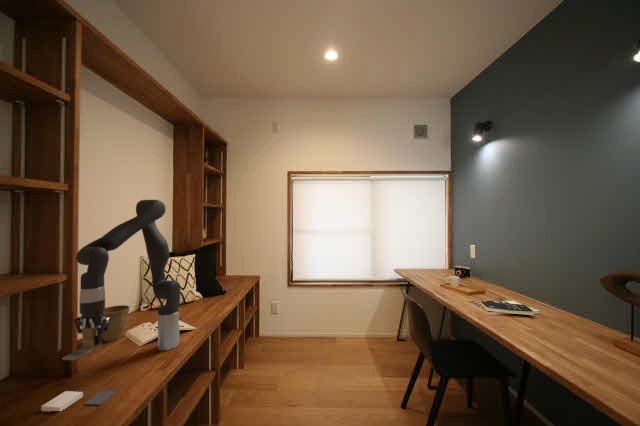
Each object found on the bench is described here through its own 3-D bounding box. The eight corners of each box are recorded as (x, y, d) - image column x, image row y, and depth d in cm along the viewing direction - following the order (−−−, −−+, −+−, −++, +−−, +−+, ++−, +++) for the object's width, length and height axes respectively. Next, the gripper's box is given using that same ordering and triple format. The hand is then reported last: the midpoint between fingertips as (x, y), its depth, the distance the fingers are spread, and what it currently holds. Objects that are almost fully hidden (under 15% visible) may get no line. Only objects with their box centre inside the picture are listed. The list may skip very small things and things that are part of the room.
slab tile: (65, 391, 100) (41, 406, 92) (82, 392, 99) (59, 407, 91) (65, 396, 100) (41, 411, 92) (82, 397, 99) (59, 413, 91)
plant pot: (130, 339, 147) (130, 309, 147) (95, 347, 137) (94, 316, 138) (128, 330, 158) (128, 303, 159) (95, 337, 149) (95, 308, 149)
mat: (102, 391, 102) (102, 390, 102) (117, 392, 101) (117, 391, 101) (84, 404, 95) (84, 403, 95) (100, 405, 94) (100, 404, 94)
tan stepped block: (92, 344, 105) (92, 324, 106) (102, 345, 105) (102, 324, 105) (62, 359, 94) (62, 336, 95) (73, 360, 94) (73, 337, 94)
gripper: (117, 296, 106) (117, 340, 106) (85, 295, 108) (85, 339, 108) (100, 302, 99) (100, 349, 99) (65, 301, 101) (65, 348, 100)
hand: (92, 344), depth 103 cm, fingers closed on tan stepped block, 4 cm apart
